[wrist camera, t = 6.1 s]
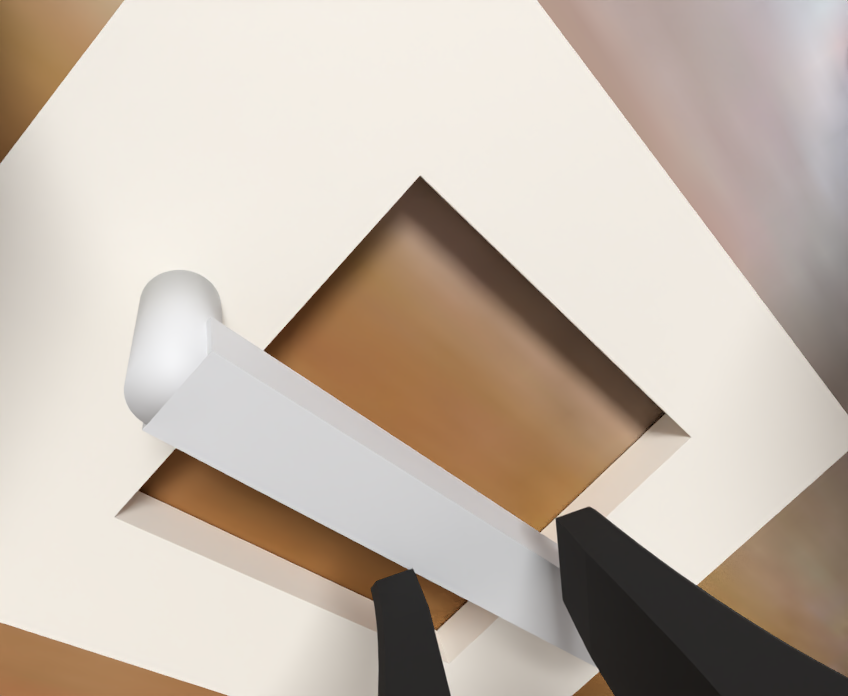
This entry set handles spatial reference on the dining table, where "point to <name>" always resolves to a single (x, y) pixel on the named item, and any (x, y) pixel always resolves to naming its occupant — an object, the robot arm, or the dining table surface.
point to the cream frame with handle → (288, 292)
